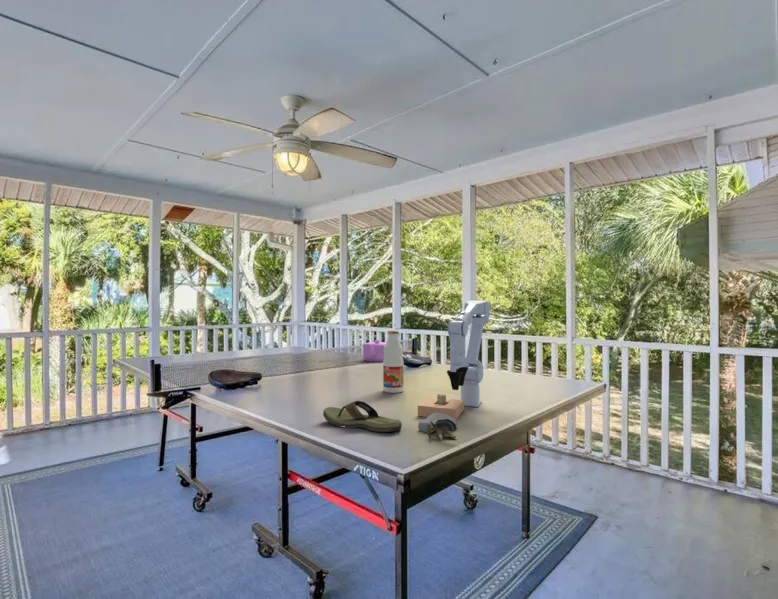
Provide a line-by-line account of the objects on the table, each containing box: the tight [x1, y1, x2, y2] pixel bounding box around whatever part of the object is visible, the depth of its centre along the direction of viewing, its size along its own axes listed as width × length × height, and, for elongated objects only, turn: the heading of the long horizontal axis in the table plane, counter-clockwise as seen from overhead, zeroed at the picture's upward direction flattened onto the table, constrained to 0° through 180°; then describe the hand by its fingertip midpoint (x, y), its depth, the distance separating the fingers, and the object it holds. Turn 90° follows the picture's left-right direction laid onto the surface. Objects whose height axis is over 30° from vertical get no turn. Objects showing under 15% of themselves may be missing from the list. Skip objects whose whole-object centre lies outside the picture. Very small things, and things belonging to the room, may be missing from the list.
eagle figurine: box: [427, 419, 458, 441], centre depth 136 cm, size 8×7×9 cm
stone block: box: [417, 413, 458, 435], centre depth 146 cm, size 12×5×10 cm
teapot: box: [362, 339, 387, 363], centre depth 298 cm, size 15×25×14 cm, turn 160°
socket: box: [417, 396, 465, 420], centre depth 165 cm, size 14×14×4 cm
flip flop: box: [322, 400, 403, 433], centre depth 150 cm, size 29×12×8 cm, turn 59°
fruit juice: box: [382, 330, 405, 394], centre depth 203 cm, size 9×9×28 cm
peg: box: [436, 393, 447, 405], centre depth 165 cm, size 3×3×7 cm
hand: (457, 387), depth 166 cm, fingers open, 7 cm apart
